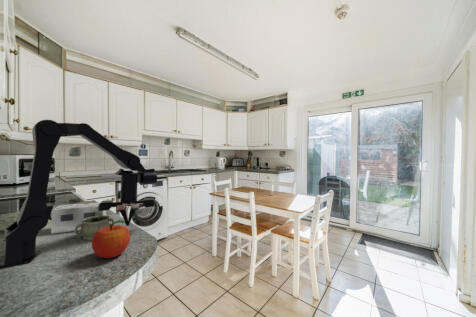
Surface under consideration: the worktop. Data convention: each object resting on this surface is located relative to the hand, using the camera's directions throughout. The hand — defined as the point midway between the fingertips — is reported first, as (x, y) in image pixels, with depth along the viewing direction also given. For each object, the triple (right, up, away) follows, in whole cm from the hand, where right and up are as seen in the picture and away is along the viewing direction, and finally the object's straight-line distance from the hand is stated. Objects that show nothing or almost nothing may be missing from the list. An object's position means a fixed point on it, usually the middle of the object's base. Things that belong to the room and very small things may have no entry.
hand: (127, 225), depth 74 cm
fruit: (+6, -2, -18) cm, 19 cm away
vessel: (-10, -2, -4) cm, 11 cm away
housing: (-22, -2, +4) cm, 22 cm away
